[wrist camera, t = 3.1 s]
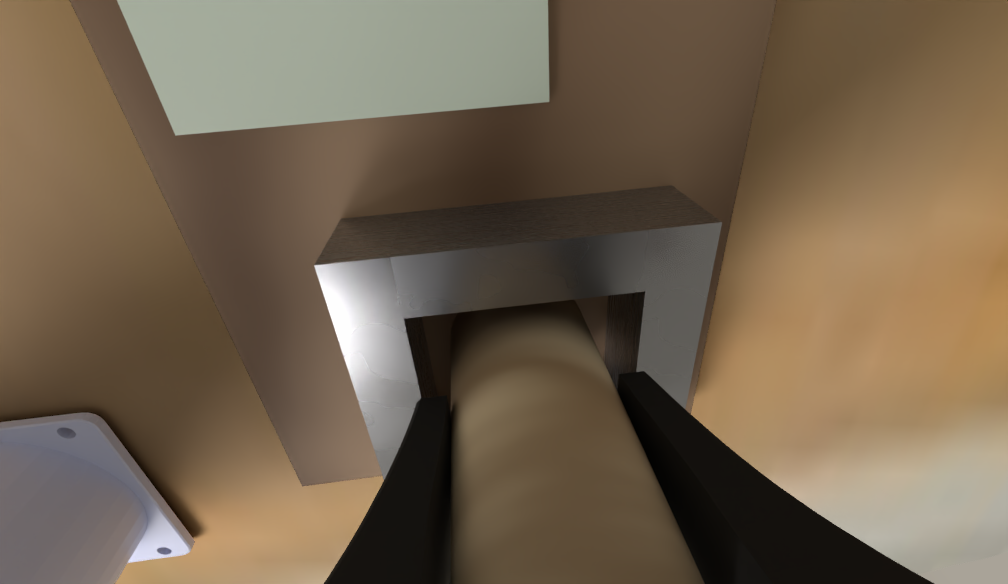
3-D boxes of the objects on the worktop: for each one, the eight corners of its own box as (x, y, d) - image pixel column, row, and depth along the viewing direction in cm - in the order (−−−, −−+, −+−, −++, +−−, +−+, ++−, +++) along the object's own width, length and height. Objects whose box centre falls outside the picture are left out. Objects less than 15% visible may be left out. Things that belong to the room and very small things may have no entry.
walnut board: (313, 451, 17) (302, 486, 16) (-118, -548, 6) (-262, -693, 5) (669, 406, 18) (686, 436, 17) (834, -560, 7) (919, -691, 6)
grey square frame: (403, 447, 15) (395, 515, 13) (340, 218, 11) (314, 265, 9) (642, 417, 16) (671, 478, 14) (671, 185, 12) (722, 222, 9)
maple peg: (459, 393, 14) (466, 726, 8) (442, 285, 12) (431, 609, 5) (582, 378, 15) (697, 690, 8) (585, 269, 13) (747, 563, 6)
